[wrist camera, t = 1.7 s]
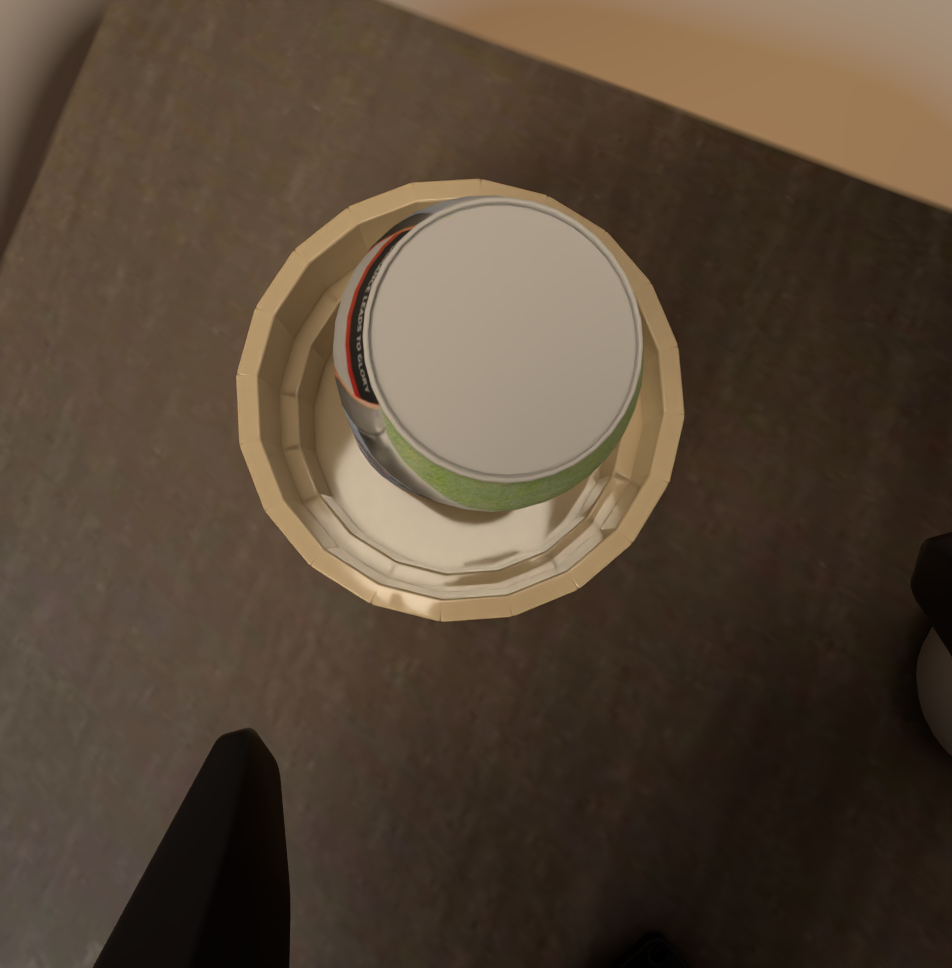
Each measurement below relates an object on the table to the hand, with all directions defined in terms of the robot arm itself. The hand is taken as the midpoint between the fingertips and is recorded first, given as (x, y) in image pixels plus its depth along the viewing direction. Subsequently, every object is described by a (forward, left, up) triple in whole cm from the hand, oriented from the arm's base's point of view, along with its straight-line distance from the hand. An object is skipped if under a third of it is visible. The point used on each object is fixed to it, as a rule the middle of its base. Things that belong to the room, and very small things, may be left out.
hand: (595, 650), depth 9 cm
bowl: (+5, -2, -15) cm, 16 cm away
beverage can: (+5, -2, -14) cm, 15 cm away
